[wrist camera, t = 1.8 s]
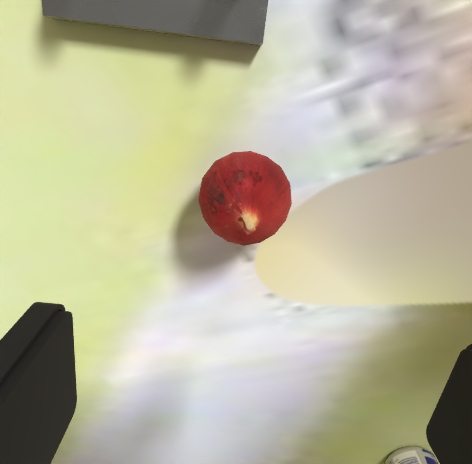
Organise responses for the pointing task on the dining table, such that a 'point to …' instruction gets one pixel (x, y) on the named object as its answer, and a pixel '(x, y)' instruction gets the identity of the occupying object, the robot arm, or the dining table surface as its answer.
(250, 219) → the onion
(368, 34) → the dining table surface
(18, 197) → the dining table surface
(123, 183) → the dining table surface
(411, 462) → the energy drink
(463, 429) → the robot arm
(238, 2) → the grey pegged plate
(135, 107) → the dining table surface
